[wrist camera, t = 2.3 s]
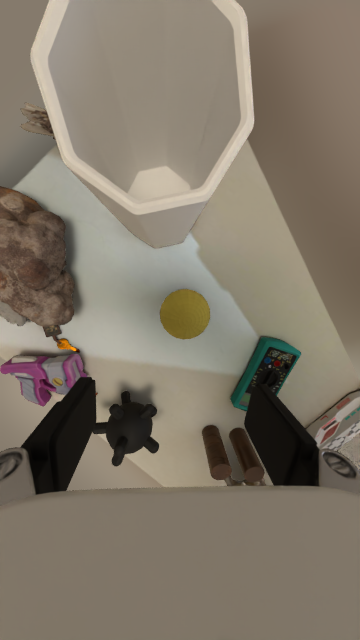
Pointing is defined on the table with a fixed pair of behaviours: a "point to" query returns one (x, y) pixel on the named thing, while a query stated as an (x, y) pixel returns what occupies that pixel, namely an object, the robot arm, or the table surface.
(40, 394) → the toy gun
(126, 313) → the table surface
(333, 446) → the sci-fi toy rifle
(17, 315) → the fossil
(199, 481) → the table surface
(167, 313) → the yellow light bulb
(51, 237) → the rock
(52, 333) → the key tag
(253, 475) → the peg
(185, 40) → the cup
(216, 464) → the peg mid
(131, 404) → the toy ball
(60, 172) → the table surface
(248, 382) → the digital multimeter
